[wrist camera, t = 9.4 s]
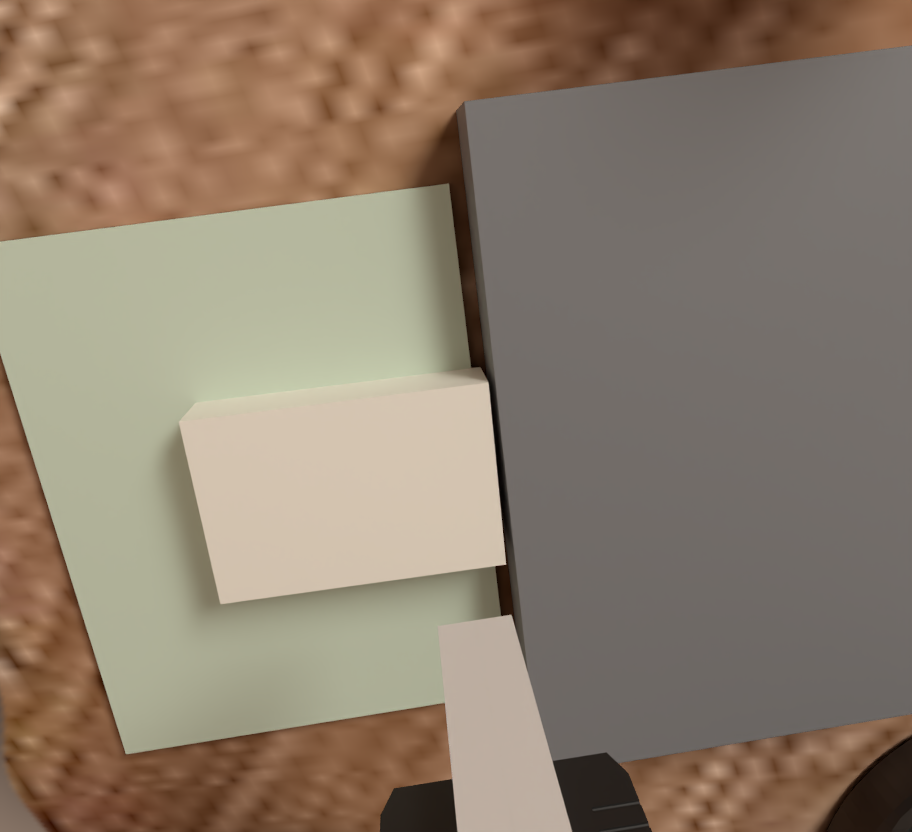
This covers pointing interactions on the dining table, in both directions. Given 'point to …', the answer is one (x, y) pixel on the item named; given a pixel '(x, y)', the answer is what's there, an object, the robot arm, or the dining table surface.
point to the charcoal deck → (702, 396)
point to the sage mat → (165, 462)
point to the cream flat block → (346, 484)
